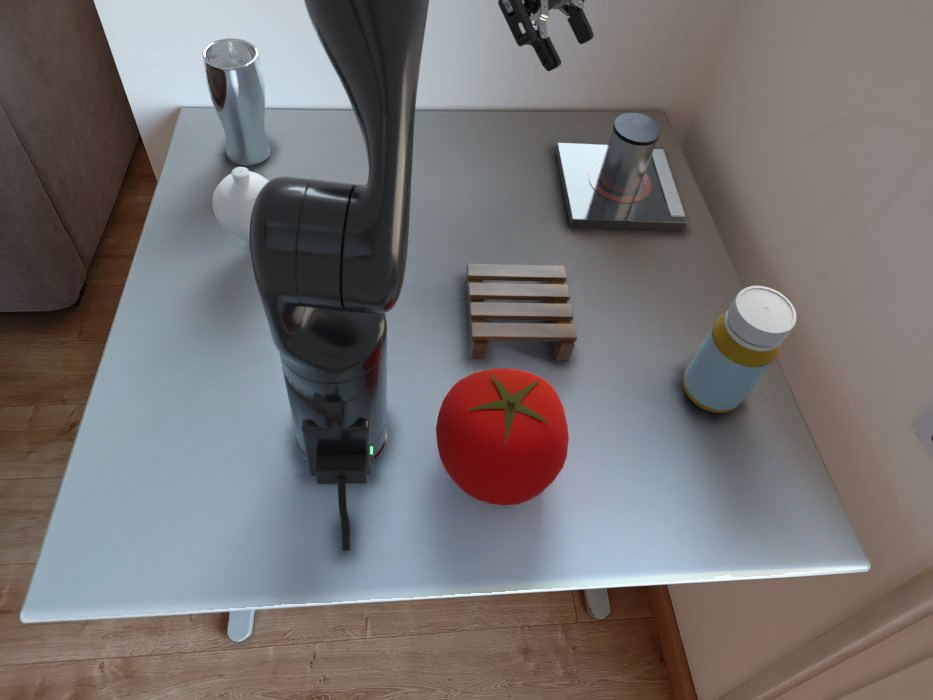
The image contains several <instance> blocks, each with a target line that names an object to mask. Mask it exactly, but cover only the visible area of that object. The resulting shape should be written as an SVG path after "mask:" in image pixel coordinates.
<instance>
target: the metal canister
mask: <svg viewBox="0 0 933 700" xmlns="http://www.w3.org/2000/svg"><path fill="white" fill-rule="evenodd" d="M660 136H661V127H660V125H659V124H658V122H656V120H654V119H653V118H651V117H650V116H649V115H646V114H642V113H639V112H625V113H622V114H619V115H618V116H617V117H616V118H615V119H614V122H613V125H612V131H611V134H610V136H609V140H608V143H607V145H608V146H607V149H606V153H605V156H604V159H603V162H602V165H601V169H600V172H599V176H598V178H599V181H600V183H601V185H602V186H603V187H604V188H606V189H607V190H609V191H611V192H613V193H616V194H623V195H626V194H631V193H634V192H636V191H637V190H638V189H639V187H640V184H641V182H642V179H643V176H644V174H645V171H646V169H647V166H648V163H649V161H650V158H651V155H652V153H653V150H654V147H656V144H657V142H658V140H659V139H660Z"/></svg>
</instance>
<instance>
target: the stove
mask: <svg viewBox="0 0 933 700" xmlns="http://www.w3.org/2000/svg"><path fill="white" fill-rule="evenodd" d="M607 146H608V144H597V143H578V142H577V143H575V142H574V143H573V142H557V143H556V147H555V155H556V160H557V165H558V170H559V175H560V181H561V185H562V191H563V197H564V201H565V207H566V211H567V212H566V213H567V217H568V222H569V227H570V228H582V229H583V228H584V229H585V228H587V229H588V228H589V229H616V230H617V229H619V230H620V229H621V230H623V229H624V230H651V231H655V230H656V231H684V230H685V228H686V226H687V224H688V221H687V218H686V214H685V211H684V208H683V204H682V201H681V199H680V195H679V192H678V189H677V186H676V183H675V180H674V176H673V174H672V171H671V168H670V166H669V162H668V158H667V156H666V154H665V150H664V148H663V146H655V147H654V150H653V153H652V155H651V158H650V161H649V163H648V166H647V169H646V171H645V174H644V176H643V179H642V182H641V184H640V187H639V189H638V190H637V191H636V192H634V193H631V194H626V195H623V194H616V193H613V192H611V191H609V190H607V189H606V188H604V187H603V186H602V185H601V183H600V181H599V178H598V176H599V172H600V169H601V165H602V162H603V159H604V156H605V153H606V149H607Z"/></svg>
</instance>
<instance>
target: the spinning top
mask: <svg viewBox="0 0 933 700" xmlns="http://www.w3.org/2000/svg"><path fill="white" fill-rule="evenodd" d="M269 181H270V180H269V179H267V178H266V177H264V176H262V175H261V174H259V173H257V172H254V171H250V170H249V169H248V168H247V167H246V166H237V167H234V168H233V169H232V170H231V173H230V174H228V175H226V176H225V177H224V178H222V180H221V181H220V182H219V183H218V184H217V186H216V188H215V189H214V192H213V194H212V198H211V204H212V211H213V213H214V214H215V217H216V219H217V221H218V222H219V223H220V224H221V225H222V226H223V227H224V228H225V229H226V230H227V231H229V233H231V234H232V235H234V236H236V237H237V238H240V239H242V240H244V241H245V242H249V243H250V237H249V236H250V220H251V214H252V210H253V206H254V203H255V200H256V198H257V196H258V194H259V192H260V190H261V189H262V188H263V187H264V185H265V184H266V183H267V182H269Z"/></svg>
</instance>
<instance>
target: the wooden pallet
mask: <svg viewBox="0 0 933 700" xmlns="http://www.w3.org/2000/svg"><path fill="white" fill-rule="evenodd" d="M567 278H568V277H567V272H566V266H565V265H549V264H548V265H547V264H544V265H543V264H508V263H507V264H505V263H504V264H503V263H466V276H465V290H466V291H465V292H466V306H467V320H468V332H469V334H468V335H469V348H470V349H469V350H470V360H483V361H484V360H486V355H487V352H488V351H487V350H488V346H489V342H492V341H493V342H553V348H554V355H555V361H570V359H571V358H572V357H571V356H572V354H573V351H574V349H575V345H576V344H575V343H576V342H577V340H578V334H577V328H576V323H572V322H573V320H574V317H575V316H574V310H573V305H572V303H568V302H569V301H570V298H571V294H570V289H569V285H568V283H567V284H566V283H565V282H566V281H567ZM483 281H496V282H483ZM497 281H498V282H497ZM502 281H503V282H502ZM514 282H515V283H514ZM518 282H520V283H518ZM521 282H540V283H521ZM541 282H543V283H541ZM485 300H486V302H485ZM487 300H488V302H487ZM489 300H490V301H491V300H492V302H489ZM493 301H537V302H493ZM538 301H543V302H544V301H546V303H543V302H538ZM488 320H489V321H543V322H544V321H547V322H549V323H536V322H534V323H533V322H532V323H530V322H528V323H527V322H487V321H488Z"/></svg>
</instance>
